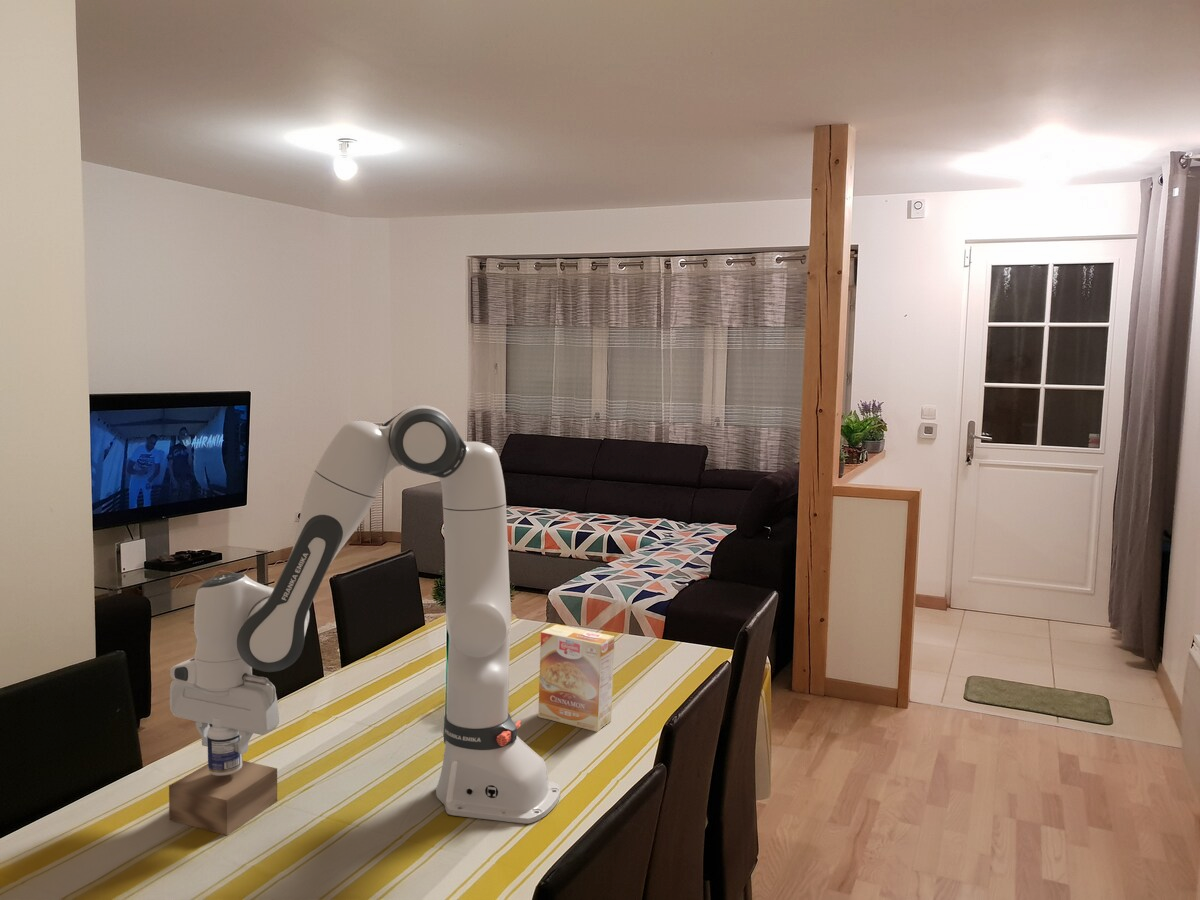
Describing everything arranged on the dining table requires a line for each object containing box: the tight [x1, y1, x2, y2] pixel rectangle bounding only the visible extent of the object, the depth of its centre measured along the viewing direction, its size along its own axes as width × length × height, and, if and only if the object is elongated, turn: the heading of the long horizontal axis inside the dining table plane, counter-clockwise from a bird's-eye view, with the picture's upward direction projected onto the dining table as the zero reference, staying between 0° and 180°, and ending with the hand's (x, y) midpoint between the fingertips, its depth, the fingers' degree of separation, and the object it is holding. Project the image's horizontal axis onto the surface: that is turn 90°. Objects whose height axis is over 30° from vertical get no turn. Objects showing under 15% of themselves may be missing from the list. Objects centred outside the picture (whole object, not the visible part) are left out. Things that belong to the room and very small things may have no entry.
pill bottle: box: [207, 718, 243, 776], centre depth 149 cm, size 5×5×10 cm
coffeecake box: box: [538, 623, 615, 733], centre depth 192 cm, size 15×7×20 cm, turn 63°
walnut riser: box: [168, 759, 278, 836], centre depth 150 cm, size 12×12×6 cm
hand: (224, 748), depth 149 cm, fingers closed on pill bottle, 5 cm apart
